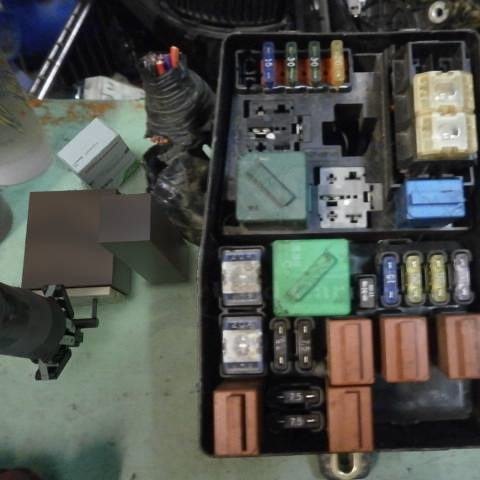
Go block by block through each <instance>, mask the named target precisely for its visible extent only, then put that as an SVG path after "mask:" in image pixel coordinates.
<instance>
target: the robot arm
mask: <svg viewBox="0 0 480 480" xmlns="http://www.w3.org/2000/svg"><path fill="white" fill-rule="evenodd" d="M42 291H43V294H44V296H42V295H39V294H37V293H34V292H32V291H31V290H29V289H25V288H21V286H14V285H10V284H7V283H5V282H2V281H0V355H1V356H7V357H16V358H21V359H22V358H23V359H28V360H30V362H31V363H32V364H34V365H37V368H38V369H37V370H36V372H35V373H34V380H35V381H38V382H39V381H54V380H55V381H56V380H58V378H59V377H60V375H61V374H62V373H63V371H64V369H65V367H67V365H68V363H69V361H70V360H71V358H72V356H73V351H72V348H79V347H80V346H81V344H82V343H84V336H85V332H83V331H82V329H80V327H77V326H75V324H73V323H72V321H71V319H75V309H74V308H73V306H72V305H71V302H70V299H69V297H68V294H67V291H66V289H65V286H64V284H54V285H43V288H42ZM63 309H64V310H63Z"/></svg>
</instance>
